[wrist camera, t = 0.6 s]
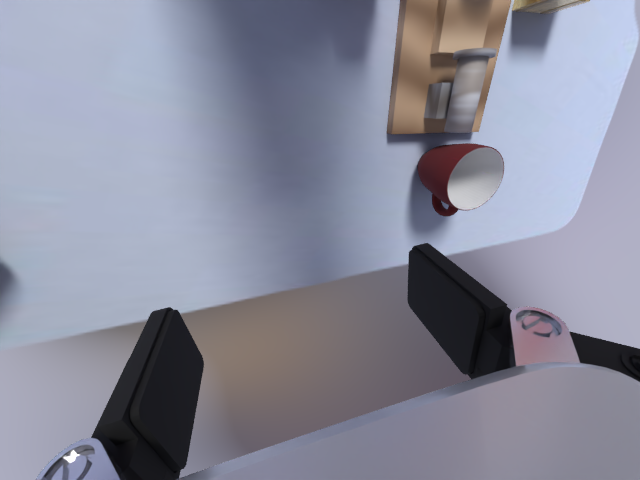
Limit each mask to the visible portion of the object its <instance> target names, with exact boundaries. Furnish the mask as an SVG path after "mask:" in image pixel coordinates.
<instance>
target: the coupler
mask: <svg viewBox="0 0 640 480" xmlns="http://www.w3.org/2000/svg"><path fill="white" fill-rule="evenodd" d="M589 1H590V0H515V1H514V5H513V9H512V11H516V12H533V13H540V14H550V13H553V12H556V11H559V10H563V9H566V8H569V7H573V6H576V5H579V4H582V3H586V2H589Z"/></svg>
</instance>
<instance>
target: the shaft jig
mask: <svg viewBox="0 0 640 480" xmlns="http://www.w3.org/2000/svg"><path fill="white" fill-rule="evenodd" d="M510 3H511V0H400V9H399V19H398V28H397V38H396V48H395V57H394V67H393V77H392V86H391V96H390V106H389V115H388V125H387V133H389V134H416V133H451V132H452V133H471V132H479V128H480V124H481V120H482V116H483V112H484V108H485V104H486V100H487V96H488V92H489V88H490V84H491V80H492V76H493V72H494V68H495V64H496V60H497V56H498V52H499V48H500V44H501V40H502V36H503V32H504V28H505V24H506V20H507V16H508V12H509V8H510Z"/></svg>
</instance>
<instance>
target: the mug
mask: <svg viewBox="0 0 640 480" xmlns="http://www.w3.org/2000/svg"><path fill="white" fill-rule="evenodd" d="M503 173H504V162H503V158H502V156H501V154H500V153H499V152H498V151H497V150H496V149H494V148H492V147H488V146H484V145H478V144H452V145H442V146H438V147H435V148H433V149H431V150H430V151H428V152H427V153H425V154H424V155H423V156H422V157H421V159H420V160H419V163H418V174H419V177H420V180H421V182H422V183H423V185H424V186H425V187H426V188H427V189H428V190H430V191H431V192H432V193H433V194H432V204H433V207H434V209H435V211H436V212H437V213H438V214H440V215H442V216H451V215H453V214H455V213H456V212H457V211H458V209H459V210H472V209H475V208H477V207H479V206H481V205H483V204H484V203H485V202H487V201H488V200H489V199H490V198H491V197H492V196H493V195H494V193H495V192H496V190H497V189H498V187H499V185H500V183H501V181H502V178H503ZM441 201H443V202H444V203H446V204H448V205H449V207H448V209H445V208H444V207H443V205H442V203H441Z"/></svg>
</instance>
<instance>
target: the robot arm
mask: <svg viewBox="0 0 640 480" xmlns="http://www.w3.org/2000/svg"><path fill="white" fill-rule="evenodd" d="M408 304H409V306H410V308H411V309H412V310H413V312H414V313H415V314H416V315H417V317H418V318H419V319H420V320H421V322H422V323H423V324H424V325H425V327H426V328H427V329H428V331H429V332H430V333H431V334H432V335H433V337H434V338H435V339H436V341H437V342H438V343H439V344H440V346H441V347H442V348H443V349H444V351H445V352H446V353H447V355H448V356H449V357H450V358H451V360H452V361H453V362H454V363H455V365H456V366H457V367H458V368H459V370H460V371H461V372H462V373H463V374H468V375H469V377H470V378H471V380H468V381H465V382H462V383H458V384H455V385H453V386H449V387H446V388H443V389H440V390H437V391H434V392H431V393H428V394H425V395H422V396H419V397H416V398H413V399H410V400H407V401H404V402H401V403H398V404H395V405H392V406H389V407H386V408H383V409H380V410H377V411H374V412H371V413H368V414H365V415H362V416H359V417H356V418H353V419H350V420H347V421H344V422H341V423H338V424H335V425H333V426H329V427H326V428H323V429H320V430H318V431H314V432H312V433H309V434H306V435H303V436H300V437H297V438H294V439H291V440H288V441H286V442H282V443H279V444H276V445H273V446H271V447H268V448H265V449H262V450H259V451H256V452H253V453H250V454H247V455H244V456H241V457H238V458H236V459H233V460H230V461H227V462H224V463H221V464H218V465H216V466H212V467H210V468H207V469H204V470H202V471H199V472H196V473H193V474H190V475H188V476H185V477H182V478H179V475H180V470H181V469H184V467H185V465H186V462H187V457H188V452H189V446H190V440H191V435H192V429H193V424H194V418H195V412H196V406H197V401H198V395H199V390H200V384H201V378H202V373H203V367H204V362H203V358H202V355H201V353H200V352H199V350H198V348H197V346H196V344H195V342H194V340H193V338H192V336H191V334H190V333H189V331H188V329H187V327H186V325H185V323H184V321H183V319H182V317H181V315H180V313H179V312H178V310H173V309H172V308H170V307H168V308H164V309H160V310H156V311H153V312H152V313H151V314H150V317H149V319H148V321H147V323H146V325H145V327H144V329H143V331H142V334H141V336H140V338H139V340H138V342H137V344H136V346H135V348H134V350H133V353H132V354H131V357H130V358H129V360H128V362H127V364H126V366H125V368H124V370H123V372H122V374H121V376H120V378H119V381H118V383H117V385H116V387H115V389H114V391H113V393H112V395H111V398H110V399H109V401H108V403H107V406H106V408H105V410H104V412H103V414H102V416H101V418H100V420H99V422H98V424H97V427H96V429H95V431H94V433H93V435H92V437H91V438H87V439H83V440H80V441H78V442H76V443H74V444H71V445H70V446H69V447H67V448H66V449H64V450H63V451H61V452H60V453H59V454H58V455H56V456H55V457H54V459H52V460H51V461H50V462H49V463H48V464H47V465H46V466H45V468H44V469H43V470H42V471H41V472H40V474H39V475H38V477H37V478H36V480H640V349H638V348H634V347H630V346H626V345H622V344H618V343H614V342H610V341H606V340H602V339H597V338H593V337H589V336H585V335H581V334H577V333H573V332H569V329H568V328H567V326H566V324H565V323H564V322H563V321H562V320H561V319H560V318H558V317H557V316H555V315H554V314H552V313H550V312H548V311H545V310H543V309H539V308H535V307H527V306H526V307H518V308H516V309H514V310H513V311H512V310H510V309H509V308H508V307H507V304H506V303H504V302H503V301H502V300H501V299H499V298H498V297H497V296H495V295H494V294H493V293H492V292H490V291H489V290H488V289H486V288H485V287H484V286H483V285H481V284H480V283H479V282H477V281H476V280H475V279H474V278H472V277H471V276H469V275H468V274H467V273H466V272H465V271H463V270H462V269H461V268H459V267H458V266H457V265H456V264H454V263H453V262H452V261H450V260H449V259H447V257H445V256H444V255H443V254H441V253H440V252H439V251H437V250H436V249H435V248H434V247H432V246H431V245H430V244H428V243H425V244H421V245H417V246H414V247H413V248H412V250H411V251H410V252H409V270H408Z"/></svg>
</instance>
